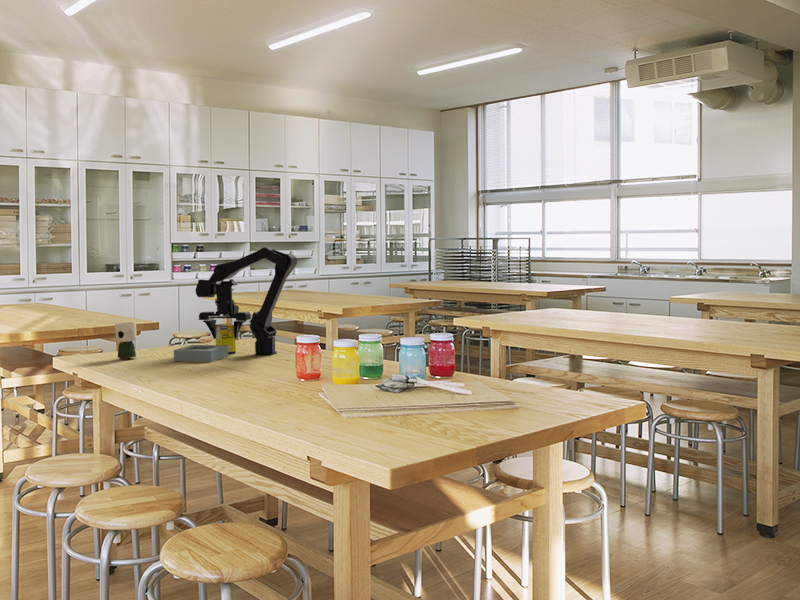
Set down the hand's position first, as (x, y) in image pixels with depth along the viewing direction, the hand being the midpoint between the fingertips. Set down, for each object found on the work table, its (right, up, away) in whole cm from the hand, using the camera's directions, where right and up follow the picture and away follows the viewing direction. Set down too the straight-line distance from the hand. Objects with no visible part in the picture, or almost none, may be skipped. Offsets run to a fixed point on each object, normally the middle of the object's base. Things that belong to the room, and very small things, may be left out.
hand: (225, 338), depth 268 cm
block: (-5, -7, -13) cm, 15 cm away
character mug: (-33, -7, -12) cm, 35 cm away
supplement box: (0, -6, 0) cm, 6 cm away
